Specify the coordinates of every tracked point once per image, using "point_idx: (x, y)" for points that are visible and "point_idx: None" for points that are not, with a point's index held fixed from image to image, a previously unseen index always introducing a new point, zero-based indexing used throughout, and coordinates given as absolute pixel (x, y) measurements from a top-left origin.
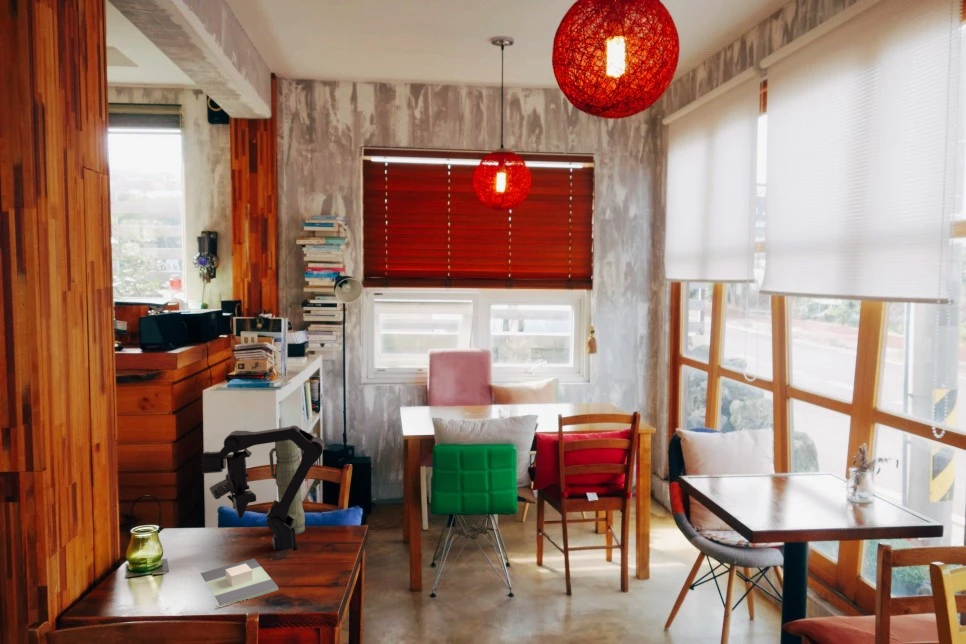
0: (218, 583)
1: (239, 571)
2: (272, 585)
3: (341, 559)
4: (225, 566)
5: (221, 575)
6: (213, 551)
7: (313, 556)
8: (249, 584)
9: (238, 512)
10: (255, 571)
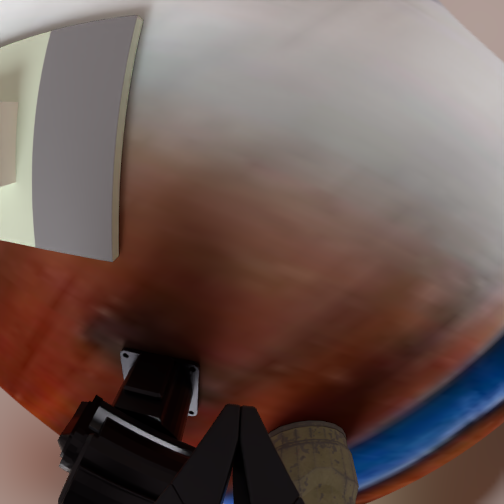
0: (12, 72)
1: None
2: None
3: (26, 400)
4: (115, 123)
5: (50, 89)
6: (396, 167)
7: (62, 387)
8: None
9: (191, 454)
10: (11, 214)
